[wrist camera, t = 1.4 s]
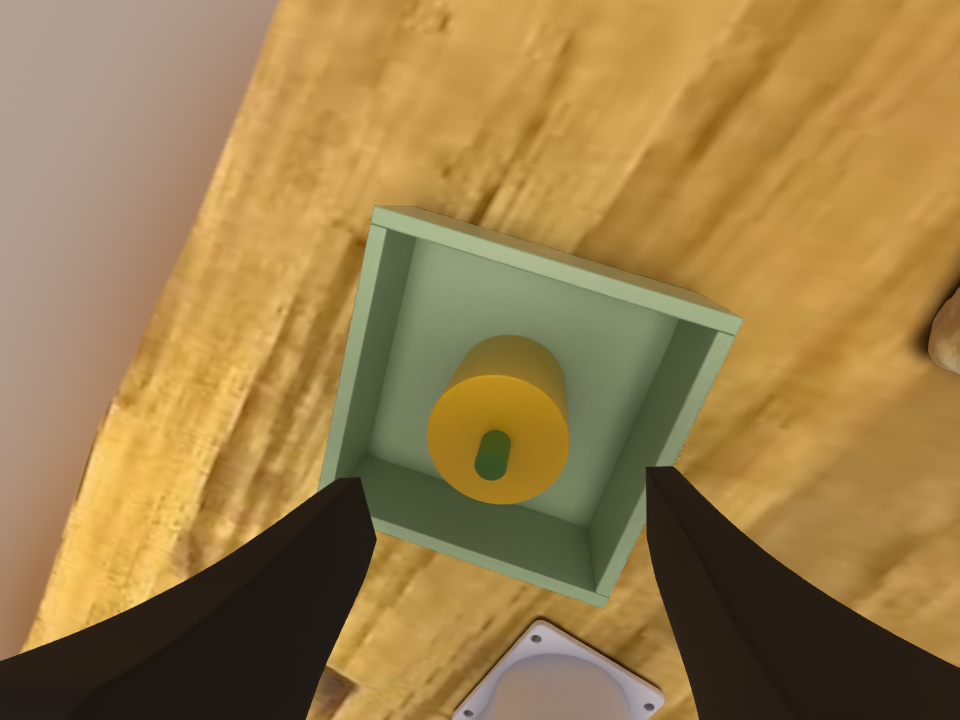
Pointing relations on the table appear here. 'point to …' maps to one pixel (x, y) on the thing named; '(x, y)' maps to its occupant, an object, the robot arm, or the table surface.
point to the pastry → (946, 335)
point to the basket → (588, 377)
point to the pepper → (502, 422)
